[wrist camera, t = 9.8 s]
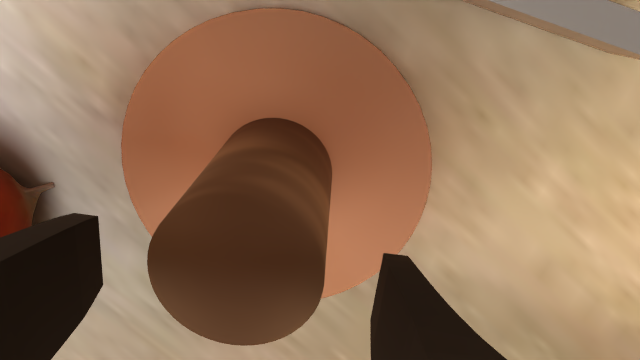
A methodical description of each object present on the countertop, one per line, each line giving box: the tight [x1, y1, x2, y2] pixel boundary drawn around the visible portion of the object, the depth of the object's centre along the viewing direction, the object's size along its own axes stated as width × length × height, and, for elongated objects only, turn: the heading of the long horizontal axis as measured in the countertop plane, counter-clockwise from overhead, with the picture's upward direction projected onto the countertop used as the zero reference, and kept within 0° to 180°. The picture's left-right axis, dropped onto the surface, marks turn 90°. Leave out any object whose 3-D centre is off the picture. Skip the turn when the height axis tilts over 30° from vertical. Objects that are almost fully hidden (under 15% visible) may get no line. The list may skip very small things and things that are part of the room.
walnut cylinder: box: [147, 118, 332, 345], centre depth 15 cm, size 4×4×7 cm
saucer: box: [121, 8, 432, 298], centre depth 18 cm, size 12×12×1 cm
